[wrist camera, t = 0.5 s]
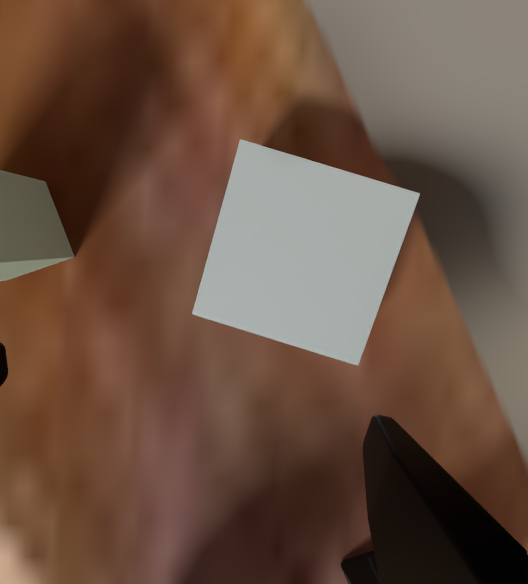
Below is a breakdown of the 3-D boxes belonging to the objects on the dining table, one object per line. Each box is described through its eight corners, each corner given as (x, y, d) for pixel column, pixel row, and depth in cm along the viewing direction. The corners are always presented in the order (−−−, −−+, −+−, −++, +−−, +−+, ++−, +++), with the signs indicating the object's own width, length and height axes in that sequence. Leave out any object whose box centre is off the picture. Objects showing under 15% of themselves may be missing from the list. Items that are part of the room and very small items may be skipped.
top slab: (349, 350, 21) (357, 365, 18) (203, 305, 21) (192, 314, 18) (402, 199, 19) (420, 193, 17) (246, 152, 19) (240, 139, 17)
